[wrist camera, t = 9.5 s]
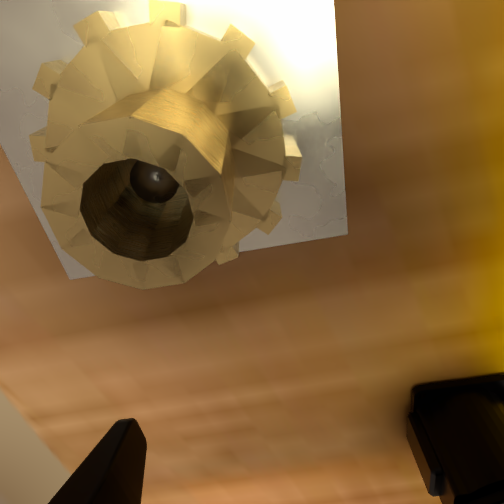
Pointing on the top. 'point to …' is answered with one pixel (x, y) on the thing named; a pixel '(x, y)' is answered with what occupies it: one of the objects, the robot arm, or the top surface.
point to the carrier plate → (260, 57)
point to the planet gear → (160, 147)
